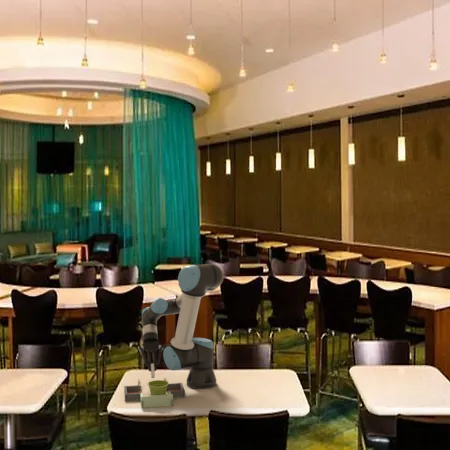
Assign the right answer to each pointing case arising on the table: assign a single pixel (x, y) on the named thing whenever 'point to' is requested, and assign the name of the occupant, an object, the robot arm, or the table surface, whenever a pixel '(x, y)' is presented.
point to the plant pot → (158, 387)
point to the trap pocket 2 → (176, 390)
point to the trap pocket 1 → (132, 393)
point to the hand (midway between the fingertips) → (153, 376)
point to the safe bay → (156, 400)
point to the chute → (140, 384)
